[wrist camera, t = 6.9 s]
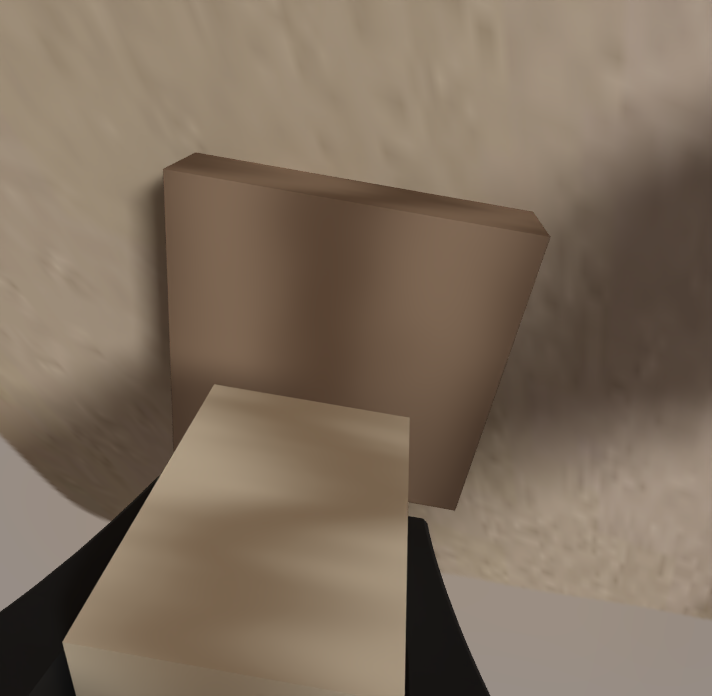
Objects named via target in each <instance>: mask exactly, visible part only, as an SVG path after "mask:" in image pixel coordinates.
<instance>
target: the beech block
mask: <svg viewBox="0 0 712 696" xmlns="http://www.w3.org/2000/svg"><path fill="white" fill-rule="evenodd" d="M409 425H410V418H409V417H403V416H397V415H391V414H385V413H379V412H373V411H368V410H362V409H356V408H350V407H344V406H338V405H333V404H327V403H321V402H315V401H309V400H303V399H297V398H292V397H286V396H280V395H274V394H268V393H262V392H257V391H251V390H245V389H239V388H233V387H227V386H221V385H216V384H214V386H213V387H212V389H211V391H210V392H209V394H208V396H207V397H206V399H205V401H204V403H203V404H202V406H201V408H200V409H199V411H198V413H197V414H196V416H195V418H194V419H193V421H192V423H191V425H190V426H189V428H188V430H187V431H186V433H185V435H184V436H183V438H182V440H181V442H180V443H179V445H178V447H177V448H176V450H175V452H174V453H173V455H172V457H171V459H170V460H169V462H168V464H167V465H166V467H165V469H164V470H163V472H162V474H161V476H160V477H159V479H158V481H157V482H156V484H155V486H154V487H153V489H152V491H151V492H150V494H149V496H148V498H147V499H146V501H145V503H144V504H143V506H142V508H141V509H140V511H139V513H138V515H137V516H136V518H135V520H134V521H133V523H132V525H131V526H130V528H129V530H128V532H127V533H126V535H125V537H124V538H123V540H122V542H121V543H120V545H119V547H118V548H117V550H116V552H115V554H114V555H113V557H112V559H111V560H110V562H109V564H108V565H107V567H106V569H105V571H104V572H103V574H102V576H101V577H100V579H99V581H98V582H97V584H96V586H95V588H94V589H93V591H92V593H91V594H90V596H89V598H88V599H87V601H86V603H85V604H84V606H83V608H82V610H81V611H80V613H79V615H78V616H77V618H76V620H75V621H74V623H73V625H72V627H71V628H70V630H69V632H68V633H67V635H66V637H65V638H64V640H63V642H62V643H63V647H64V651H65V655H66V658H67V662H68V666H69V670H70V674H71V678H72V682H73V686H74V690H75V693H76V696H405V647H406V592H407V536H408V481H409Z"/></svg>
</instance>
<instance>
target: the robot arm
mask: <svg viewBox="0 0 712 696" xmlns="http://www.w3.org/2000/svg"><path fill="white" fill-rule="evenodd" d="M160 476H161V475H160ZM160 476H158V477H157V478H156V479H155V480H154V481H153V482H152V483H151V484H150V485H149V486H148V487H147V488H146V489H145V490H144V491H143V492H142V493H141V494H140V495H139V496H138V497H137V498H136V499H135V500H134V501H133V502H132V503H130V504H129V505H128V506H127V507H126V508H125V509H124V510H123V511H122V512H121V513H120V514H119V515H118V516H117V517H116V518H114V519H113V520H112V521H111V522H110V523H109V524H108V525H107V526H106V527H104V528H103V529H102V530H101V531H100V532H99V533H98V534H97V535H95V536H94V537H93V538H92V539H91V540H90V541H89V542H88V543H87V544H85V545H84V546H83V547H82V548H81V549H80V550H78V552H76V553H75V554H74V555H73V556H71V557H70V558H69V559H68V560H66V561H65V562H64V563H63V564H61V565H60V566H59V567H58V568H56V569H55V570H54V571H53V572H52V573H51V574H49V575H48V576H47V577H45V578H44V579H43V580H42V581H40V582H39V583H38V584H37V585H35V586H34V587H33V588H32V589H30V590H29V591H28V592H26V593H25V594H24V595H22V596H21V597H20V598H18V599H17V600H16V601H14V602H13V603H12V604H10V605H9V606H8V607H6V608H5V609H3V610H2V611H1V612H0V696H76V693H75V690H74V686H73V682H72V678H71V674H70V670H69V666H68V662H67V658H66V655H65V651H64V647H63V643H62V642H63V640H64V638H65V637H66V635H67V633H68V632H69V630H70V628H71V627H72V625H73V623H74V621H75V620H76V618H77V616H78V615H79V613H80V611H81V610H82V608H83V606H84V604H85V603H86V601H87V599H88V598H89V596H90V594H91V593H92V591H93V589H94V588H95V586H96V584H97V582H98V581H99V579H100V577H101V576H102V574H103V572H104V571H105V569H106V567H107V565H108V564H109V562H110V560H111V559H112V557H113V555H114V554H115V552H116V550H117V548H118V547H119V545H120V543H121V542H122V540H123V538H124V537H125V535H126V533H127V532H128V530H129V528H130V526H131V525H132V523H133V521H134V520H135V518H136V516H137V515H138V513H139V511H140V509H141V508H142V506H143V504H144V503H145V501H146V499H147V498H148V496H149V494H150V492H151V491H152V489H153V487H154V486H155V484H156V482H157V481H158V479H159V477H160ZM405 696H490V694H489V692H488V690H487V688H486V686H485V683H484V681H483V679H482V677H481V675H480V673H479V670H478V669H477V666H476V664H475V661H474V659H473V657H472V655H471V652H470V650H469V648H468V646H467V643H466V641H465V638H464V636H463V633H462V631H461V628H460V626H459V624H458V621H457V618H456V615H455V613H454V610H453V608H452V605H451V602H450V599H449V597H448V594H447V591H446V588H445V585H444V582H443V579H442V576H441V573H440V570H439V567H438V563H437V560H436V557H435V553H434V550H433V546H432V542H431V538H430V534H429V529H428V524H427V523H426V521H425V520H424V519H422V518H416V517H410V516H408V536H407V592H406V647H405Z"/></svg>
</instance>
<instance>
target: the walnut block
mask: <svg viewBox="0 0 712 696" xmlns="http://www.w3.org/2000/svg"><path fill="white" fill-rule="evenodd" d="M163 179H164V206H165V233H166V259H167V286H168V313H169V340H170V366H171V393H172V420H173V446H174V452H175V450H176V448H177V447H178V445H179V443H180V442H181V440H182V438H183V436H184V435H185V433H186V431H187V430H188V428H189V426H190V425H191V423H192V421H193V419H194V418H195V416H196V414H197V413H198V411H199V409H200V408H201V406H202V404H203V403H204V401H205V399H206V397H207V396H208V394H209V392H210V391H211V389H212V387H213V386H214V384H216V385H221V386H227V387H233V388H239V389H245V390H251V391H257V392H262V393H268V394H274V395H280V396H286V397H292V398H297V399H303V400H309V401H315V402H321V403H327V404H333V405H338V406H344V407H350V408H356V409H362V410H368V411H373V412H379V413H385V414H391V415H397V416H403V417H409V418H410V425H409V481H408V502H411V503H416V504H422V505H427V506H433V507H438V508H444V509H449V510H455V509H456V506H457V503H458V501H459V498H460V495H461V492H462V489H463V486H464V483H465V480H466V478H467V475H468V472H469V469H470V466H471V463H472V460H473V458H474V455H475V452H476V449H477V446H478V443H479V440H480V437H481V435H482V432H483V429H484V426H485V423H486V420H487V417H488V415H489V412H490V409H491V406H492V403H493V400H494V397H495V394H496V392H497V389H498V386H499V383H500V380H501V377H502V374H503V372H504V369H505V366H506V363H507V360H508V357H509V354H510V351H511V349H512V346H513V343H514V340H515V337H516V334H517V331H518V329H519V326H520V323H521V320H522V317H523V314H524V311H525V309H526V306H527V303H528V300H529V297H530V294H531V291H532V288H533V286H534V283H535V280H536V277H537V274H538V271H539V268H540V266H541V263H542V260H543V257H544V254H545V251H546V248H547V245H548V243H549V240H550V236H549V234H548V233H547V231H546V230H545V228H544V227H543V226H542V224H541V223H540V221H539V220H538V218H537V217H536V216H535V214H534V213H533V212H531V211H525V210H519V209H514V208H508V207H502V206H497V205H491V204H485V203H480V202H474V201H468V200H462V199H457V198H451V197H445V196H440V195H434V194H428V193H423V192H417V191H411V190H406V189H400V188H394V187H389V186H383V185H377V184H371V183H366V182H360V181H354V180H349V179H343V178H337V177H332V176H326V175H320V174H315V173H309V172H303V171H298V170H292V169H286V168H280V167H275V166H269V165H263V164H258V163H252V162H246V161H241V160H235V159H229V158H224V157H218V156H212V155H206V154H201V153H194V154H192V155H190V156H188V157H186V158H184V159H182V160H180V161H178V162H176V163H174V164H172V165H170V166H168V167H166V168H164V169H163Z"/></svg>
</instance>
